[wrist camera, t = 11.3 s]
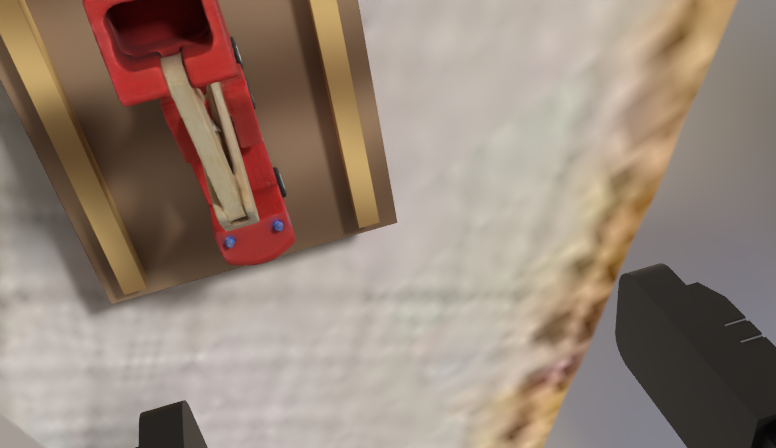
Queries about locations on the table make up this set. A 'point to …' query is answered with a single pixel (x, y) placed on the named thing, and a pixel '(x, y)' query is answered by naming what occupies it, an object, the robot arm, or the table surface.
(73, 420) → the table surface
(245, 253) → the toy fire truck
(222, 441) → the table surface
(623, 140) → the table surface
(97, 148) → the platform
